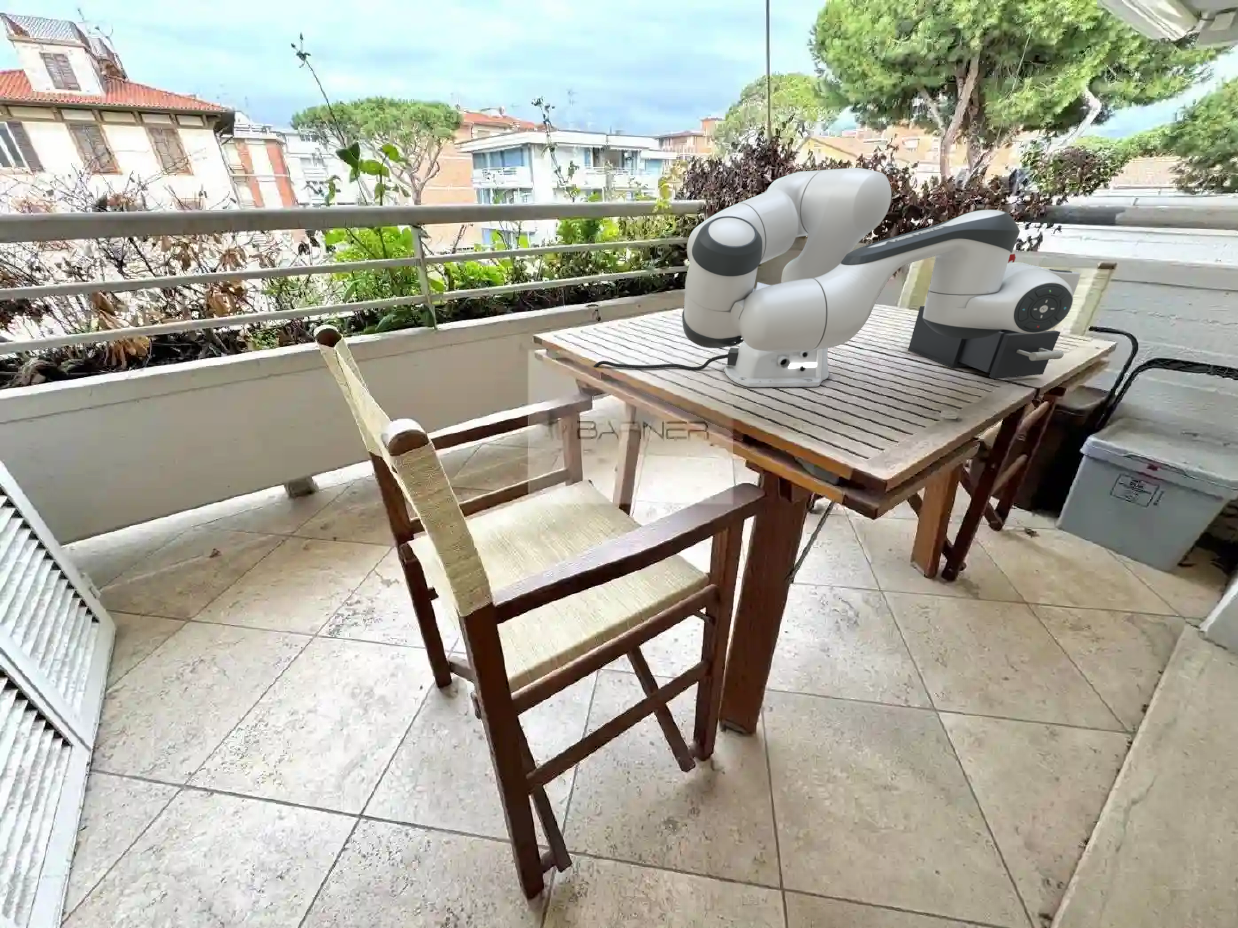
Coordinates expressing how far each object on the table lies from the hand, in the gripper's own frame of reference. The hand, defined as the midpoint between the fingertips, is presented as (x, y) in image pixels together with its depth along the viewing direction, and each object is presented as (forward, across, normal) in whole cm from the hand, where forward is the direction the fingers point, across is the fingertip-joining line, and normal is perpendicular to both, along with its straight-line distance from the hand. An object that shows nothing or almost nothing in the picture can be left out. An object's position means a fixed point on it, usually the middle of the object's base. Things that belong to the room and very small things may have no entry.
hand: (989, 279), depth 93 cm
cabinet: (+17, +2, -20) cm, 26 cm away
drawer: (+5, +9, -19) cm, 22 cm away
